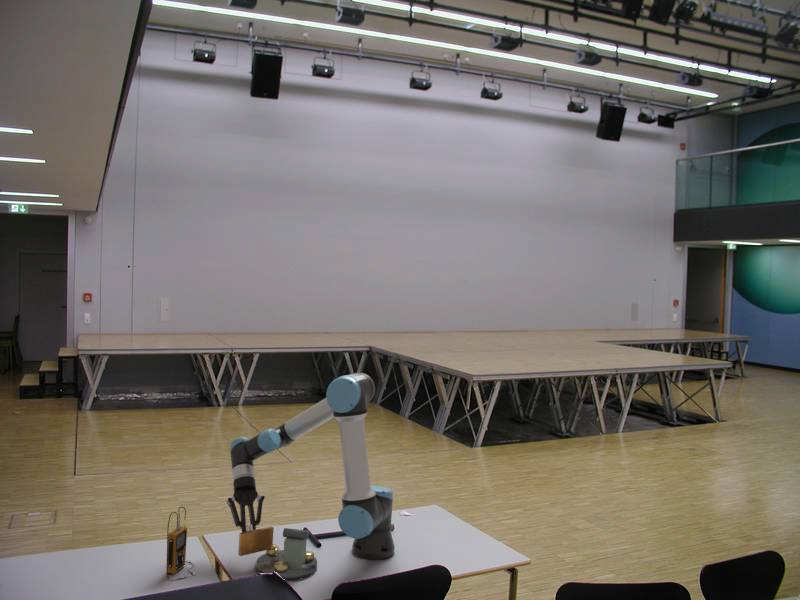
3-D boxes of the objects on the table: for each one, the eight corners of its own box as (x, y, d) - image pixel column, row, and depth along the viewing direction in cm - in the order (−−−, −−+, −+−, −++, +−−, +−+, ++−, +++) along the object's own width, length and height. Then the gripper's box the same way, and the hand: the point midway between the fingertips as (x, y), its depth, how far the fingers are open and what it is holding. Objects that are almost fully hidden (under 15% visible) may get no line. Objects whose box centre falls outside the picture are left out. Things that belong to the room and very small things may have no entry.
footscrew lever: (274, 550, 240) (275, 523, 240) (281, 555, 237) (282, 527, 236) (235, 560, 230) (237, 531, 230) (242, 564, 227) (243, 535, 227)
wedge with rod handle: (308, 562, 233) (310, 527, 233) (303, 569, 227) (305, 533, 227) (284, 560, 234) (286, 525, 234) (279, 567, 228) (281, 531, 228)
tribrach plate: (322, 559, 242) (323, 547, 242) (308, 583, 222) (309, 571, 222) (266, 553, 244) (266, 541, 244) (247, 576, 224) (248, 564, 224)
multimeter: (189, 583, 217) (192, 519, 216) (159, 579, 219) (162, 515, 218) (211, 565, 231) (214, 505, 231) (183, 561, 233) (186, 501, 233)
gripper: (261, 484, 253) (268, 547, 239) (222, 486, 248) (227, 551, 233) (265, 474, 248) (273, 538, 234) (225, 476, 243) (231, 542, 228)
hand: (250, 545), depth 234 cm, fingers closed
